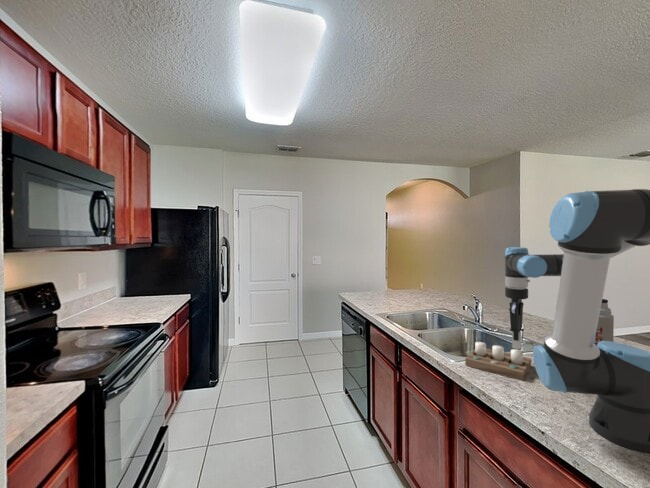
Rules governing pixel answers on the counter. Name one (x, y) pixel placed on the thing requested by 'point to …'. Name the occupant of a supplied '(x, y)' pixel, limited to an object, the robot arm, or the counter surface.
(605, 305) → the thermos bottle
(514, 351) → the button
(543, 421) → the counter surface
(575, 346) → the robot arm
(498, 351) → the button
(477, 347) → the white rounded cylinder
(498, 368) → the button board
